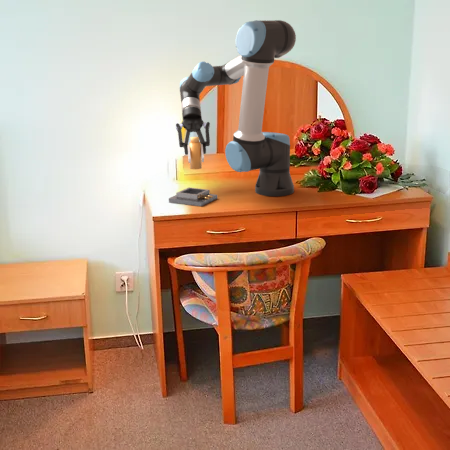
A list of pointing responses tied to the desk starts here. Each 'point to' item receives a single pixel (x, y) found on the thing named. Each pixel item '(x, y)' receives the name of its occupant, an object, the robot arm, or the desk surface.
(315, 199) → the desk surface
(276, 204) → the desk surface
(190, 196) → the plate
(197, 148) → the wooden peg doll
